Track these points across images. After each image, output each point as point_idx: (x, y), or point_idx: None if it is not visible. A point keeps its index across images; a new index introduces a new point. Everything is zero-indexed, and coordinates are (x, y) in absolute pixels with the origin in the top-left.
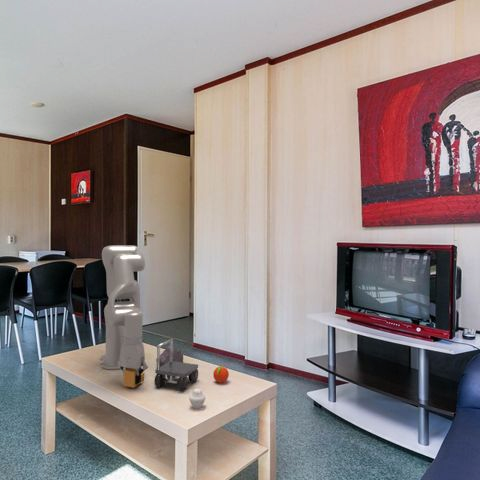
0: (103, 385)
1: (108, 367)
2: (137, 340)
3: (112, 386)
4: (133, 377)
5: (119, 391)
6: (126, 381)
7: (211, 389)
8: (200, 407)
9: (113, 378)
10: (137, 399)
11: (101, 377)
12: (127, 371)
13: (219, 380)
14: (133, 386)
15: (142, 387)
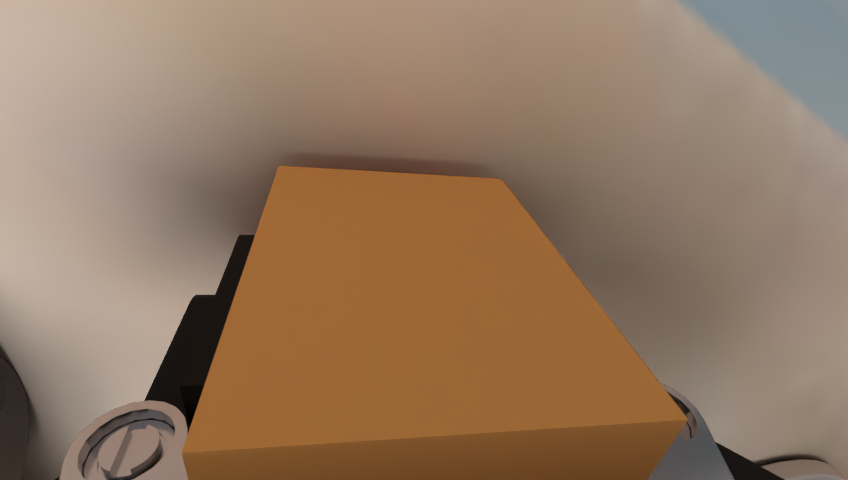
0: (804, 162)
1: (796, 478)
2: None
3: (674, 170)
4: (246, 291)
5: (499, 10)
6: (463, 217)
7: None
8: None
9: (707, 357)
10: None
11: (833, 335)
12: (523, 420)
13: None
14: (278, 174)
15: (214, 277)
